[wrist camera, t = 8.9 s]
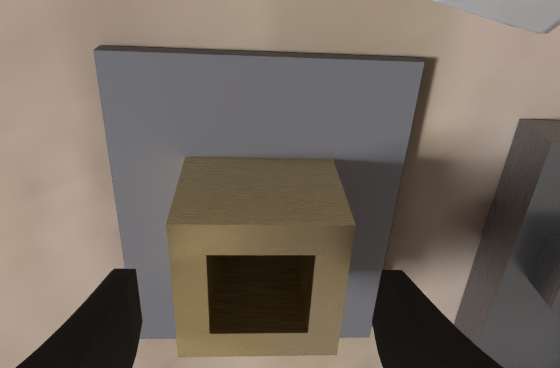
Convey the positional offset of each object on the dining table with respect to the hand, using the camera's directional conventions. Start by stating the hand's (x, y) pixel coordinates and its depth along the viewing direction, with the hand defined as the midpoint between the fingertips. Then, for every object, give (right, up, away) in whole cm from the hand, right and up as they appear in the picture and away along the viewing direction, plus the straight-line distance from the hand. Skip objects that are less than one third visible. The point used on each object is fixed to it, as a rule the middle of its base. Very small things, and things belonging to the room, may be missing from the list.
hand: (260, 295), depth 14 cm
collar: (0, +2, +3) cm, 4 cm away
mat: (0, +2, +4) cm, 4 cm away
